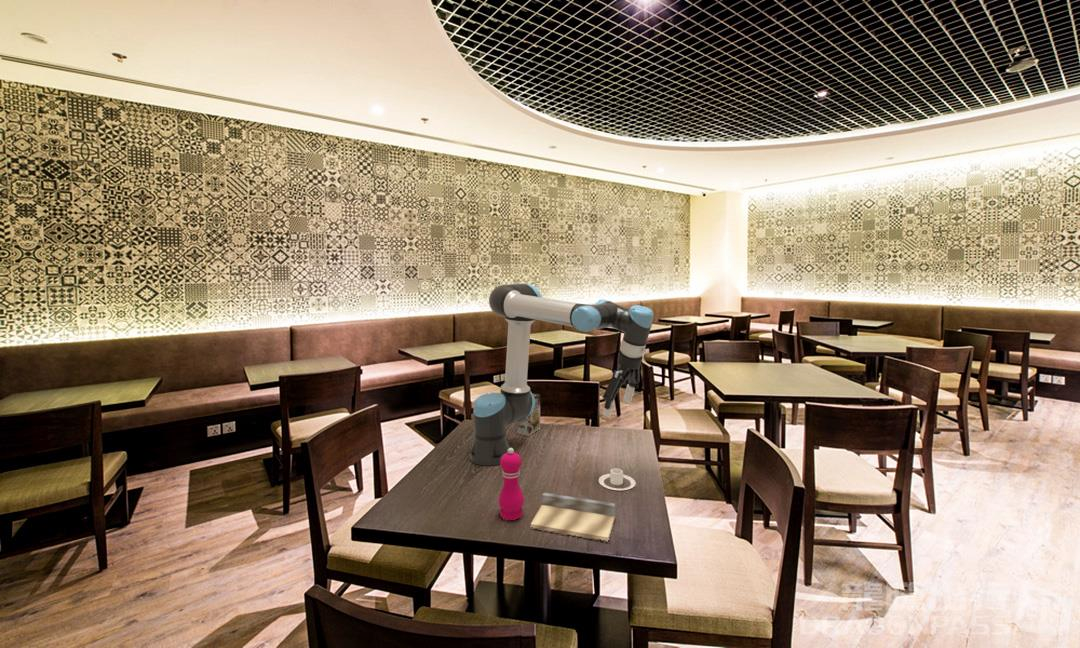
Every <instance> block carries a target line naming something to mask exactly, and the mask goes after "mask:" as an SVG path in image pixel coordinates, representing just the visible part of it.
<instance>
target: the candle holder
mask: <svg viewBox="0 0 1080 648" xmlns="http://www.w3.org/2000/svg"><path fill="white" fill-rule="evenodd" d="M609 470H610V471H609V472H610V473H606V474H603V475H601V476H599V478H598V483H599V485H601V486H602V487H603V488H605V489H607V490H612V491H627V490H630V489H633V488H634V487H635V486H636V485H637V483H636V480H635V479H634V478H633V477H631V476H629V475H626V474H624V470H623V469H620V468H618V467H617V468H611V469H609ZM606 479H609V481H610V484H611V485H613V486H621V485H623V483H624V479H626V480H628V482H629V483H630V485H629V486H628V487H624V488H617V487H616V488H615V487H611V486H608V485H607V484H606V483H605V480H606Z"/></svg>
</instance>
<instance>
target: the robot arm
mask: <svg viewBox="0 0 1080 648" xmlns="http://www.w3.org/2000/svg"><path fill="white" fill-rule="evenodd" d="M488 304H489V308H490V309H491V311H492V312H493V313H494V315H495V314H496V315H497V316H499V317H504V320H505V321H506V322H507V323H508V325H507V326H508V327H507V341H506V359H505V374H504V375H505V376H504V382H503V384H501V386H500V392H490V393H488V392H487V393H484V394H481V395H480V396H478V397H476V399H475V400H474V402H473V409H472V410H473V411H472V412H473V429H474V430H473V432H474V433H473V434H474V439H473V442H472V445H471V449H470V451H469V452H470V453H469V459H470V461H471V462H472V463H473V464H475V465H479V466H484V467H485V466H487V467H491V466H498V465H500V460H501V457H502V456H503V455H504V454H505V453H508V449H509V448H510V445H509V443H508V440H507V435H506V434H507V433H506V428H507V427H506V426H509V425H512V424H514V423H516V422H517V421H520V420H523V419H525V418H526V417H528V416H529V415H531V413H532V412H533V410H534V407H535V398H534V397H533V396H532V395H533V394H534V393H532V391H531V387H530V386H529V385H528V370H529V356H530V355H529V354H530V342H531V341H530V340H531V326H532V324H533V323H534V322H535V321H537V320H538V321H542V322H548V323H552V324H558V325H562V326H568V327H571V328H575V329H576V330H578V331H579V332H592V331H595V330H599V329H605V328H613V329H615V330H617V331H620V332H623V336H622V340H621V344H620V348H619V351H618V356H617V363H618V365H620V366H619V368H618V370H616V369H614V370H613V373H612V376H611V378H610V381H609V382H608V384H607V387H606V389H605V391H604V393H603V396H602V400H604V405H603V409H602V414H601V415H602V416H603V417H606V418H607V419H610V418H611V414H612V412H613V408H614V404H615V400H614V399H615V398H616V396H617V394H618V393H619V392H620V389H621V387H622V386H623V385H625V384H626V382H628V384H627V385H626V387H625V392H624V395H623V400H622V402H623V403H626V404H628V405H631V404H632V399H633V396H634V393H635V389H638V388H639V383H640V381H641V380H640V379H641V378H640V371H641V365H642V362H643V361H642V360H643V356H644V354H645V352H646V350H647V349H646V345H647V343H648V339H649V336H650V332H651V329H652V327H653V320H654V315H655V314H654V312H653V310H652V309H651V308H650V307H647V306H642V305H637V304H635V305H631V306H630V308H627V307H624V306H623V305H619V304H617V303H615V302H613V301H612V300H607V299H599V300H598V301H596V302H595V303H594V304H585V303H578V302H571V301H565V300H560V299H554V298H547V297H543V296H542V294H541V292H540V291H539V290H538V288H537V286H534V285H532V284H529V283H528V284H527V283H511V284H502V285H498V286H496V287H495V288H494V289H493V290H492V291H491V292H490V293H489V297H488ZM517 423H518V422H517Z"/></svg>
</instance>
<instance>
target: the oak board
mask: <svg viewBox="0 0 1080 648" xmlns="http://www.w3.org/2000/svg"><path fill="white" fill-rule="evenodd" d="M615 519H616V503H613V502H608V501H601V500H597V499H596V500H594V499H588V498H581V497H575V496H569V495H563V494H555V493H549V492H542V495H541V506H540V508H539V510H538V511H537V512H536V514H535V515H534V517H533V519H532V521H531V523H530V528H531V527H533V528H539V529H544V530H549V531H555V532H560V533H565V534H571V535H576V536H582V537H588V538H594V539H601V540H606V541H608V540H609V541H610V538H611V535H610V534H611V533H612V531H613V527H614V524H615V521H616V520H615ZM613 523H614V524H613ZM611 530H612V531H611ZM609 537H610V538H609Z"/></svg>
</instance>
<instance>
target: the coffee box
mask: <svg viewBox="0 0 1080 648" xmlns="http://www.w3.org/2000/svg"><path fill="white" fill-rule="evenodd" d="M532 394H533V395H532V396H533V397H534V398H535V407H534V410H533V412H532V413H531V415H529V416H528V417H526V418H525V419H523V420H520V421H517V426H516V427H517V430H516V431H517V434H519V435H523V436H526V437H530V436H532V435H533V433H534V434H536V433H537V432H539V431H541V394H538V393H532ZM538 430H539V431H538ZM536 431H537V432H536ZM535 432H536V433H535Z"/></svg>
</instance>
